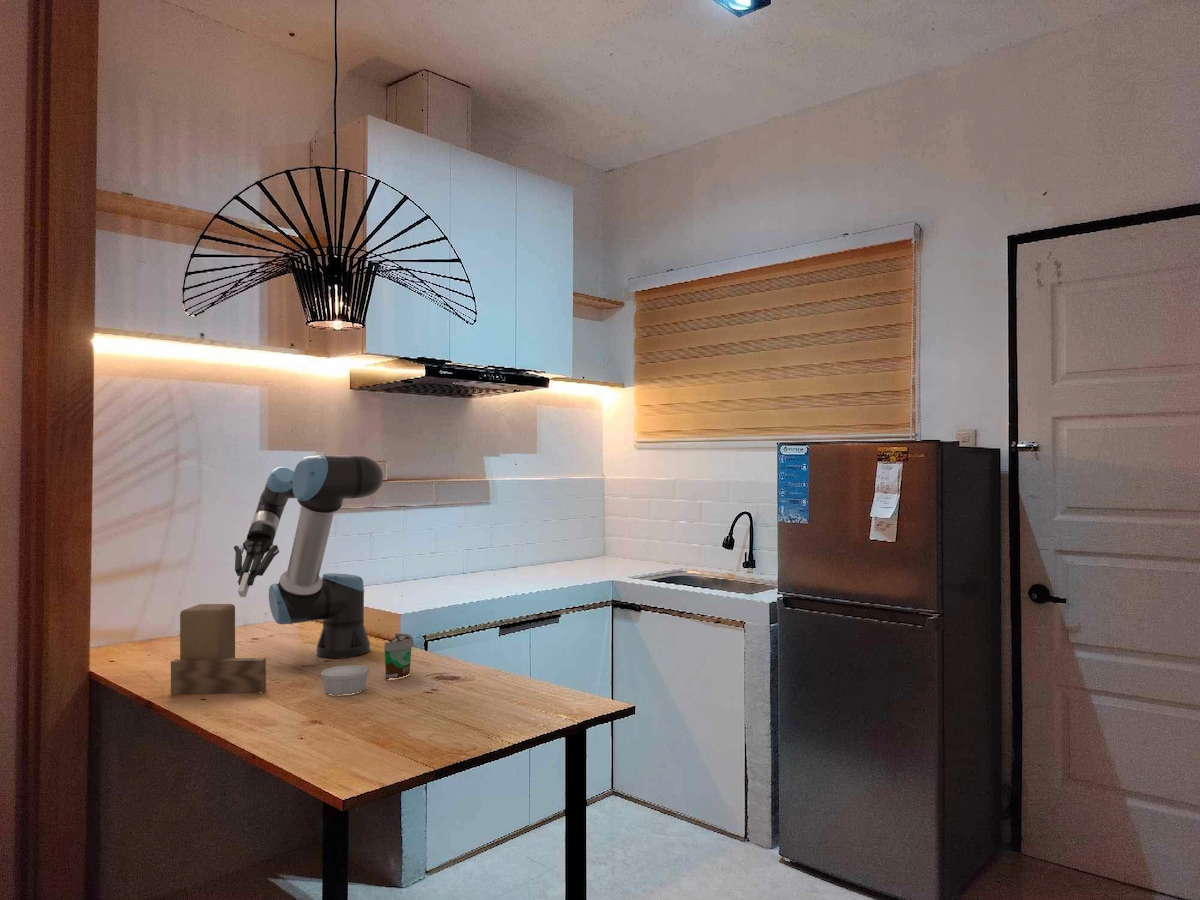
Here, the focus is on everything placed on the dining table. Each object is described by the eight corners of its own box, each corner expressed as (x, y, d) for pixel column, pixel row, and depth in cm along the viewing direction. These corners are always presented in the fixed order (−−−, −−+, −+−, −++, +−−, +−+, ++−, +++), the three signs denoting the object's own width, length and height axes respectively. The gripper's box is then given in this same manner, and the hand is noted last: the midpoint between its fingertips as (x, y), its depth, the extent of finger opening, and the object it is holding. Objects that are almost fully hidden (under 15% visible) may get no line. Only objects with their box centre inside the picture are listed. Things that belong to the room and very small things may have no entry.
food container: (408, 682, 212) (408, 642, 212) (384, 682, 211) (384, 643, 212) (418, 669, 224) (418, 632, 224) (395, 670, 224) (395, 633, 224)
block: (236, 680, 214) (236, 603, 215) (218, 691, 204) (218, 610, 205) (198, 680, 214) (198, 603, 215) (178, 691, 204) (178, 610, 205)
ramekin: (312, 692, 203) (312, 670, 203) (354, 683, 211) (354, 662, 211) (334, 701, 195) (334, 678, 195) (377, 691, 203) (377, 670, 203)
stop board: (265, 690, 205) (265, 657, 205) (262, 693, 202) (262, 660, 202) (175, 691, 204) (175, 659, 204) (170, 694, 202) (170, 661, 202)
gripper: (288, 537, 252) (268, 601, 235) (244, 538, 251) (222, 602, 234) (282, 521, 247) (261, 585, 230) (237, 522, 246) (214, 586, 229)
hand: (241, 594), depth 232 cm, fingers closed
